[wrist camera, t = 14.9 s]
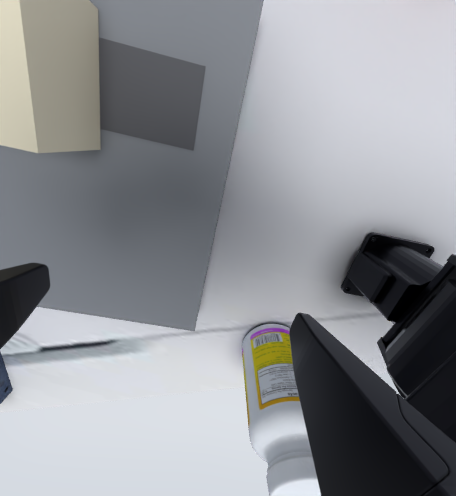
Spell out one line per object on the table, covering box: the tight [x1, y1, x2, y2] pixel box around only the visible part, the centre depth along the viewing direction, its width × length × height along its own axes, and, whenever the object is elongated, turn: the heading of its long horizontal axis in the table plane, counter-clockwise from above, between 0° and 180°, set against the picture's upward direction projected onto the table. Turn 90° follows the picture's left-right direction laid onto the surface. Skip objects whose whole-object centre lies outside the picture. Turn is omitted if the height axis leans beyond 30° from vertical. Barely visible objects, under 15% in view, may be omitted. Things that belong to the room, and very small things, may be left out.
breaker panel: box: [0, 0, 264, 331], centre depth 17 cm, size 18×24×4 cm
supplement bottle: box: [242, 324, 321, 496], centre depth 21 cm, size 7×7×13 cm
